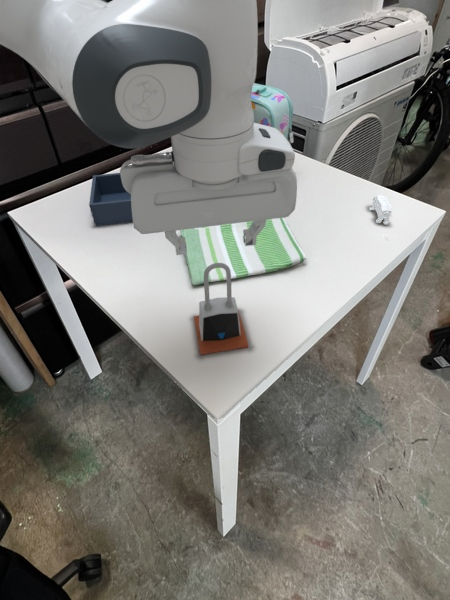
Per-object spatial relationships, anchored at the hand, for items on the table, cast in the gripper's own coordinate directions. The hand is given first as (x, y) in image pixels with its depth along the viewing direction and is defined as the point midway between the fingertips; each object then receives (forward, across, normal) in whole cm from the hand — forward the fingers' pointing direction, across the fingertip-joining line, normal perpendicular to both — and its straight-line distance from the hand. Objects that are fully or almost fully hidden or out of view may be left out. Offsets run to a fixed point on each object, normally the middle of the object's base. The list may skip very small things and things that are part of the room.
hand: (215, 247), depth 51 cm
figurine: (+18, +42, +26) cm, 53 cm away
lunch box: (+18, +18, +57) cm, 63 cm away
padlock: (+18, 0, -1) cm, 18 cm away
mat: (+18, 0, -1) cm, 18 cm away
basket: (+18, -15, +42) cm, 49 cm away
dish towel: (+18, +8, +20) cm, 29 cm away
